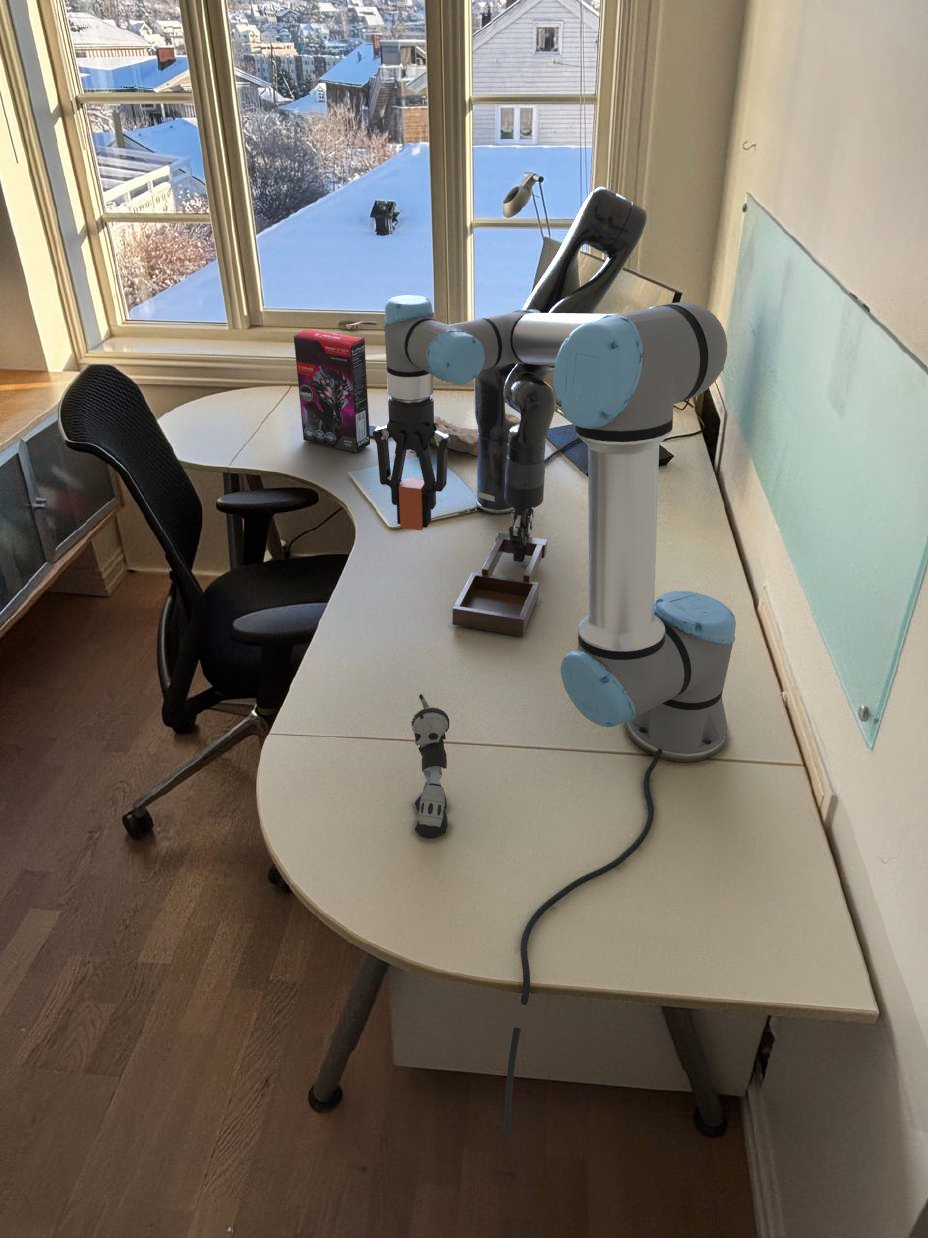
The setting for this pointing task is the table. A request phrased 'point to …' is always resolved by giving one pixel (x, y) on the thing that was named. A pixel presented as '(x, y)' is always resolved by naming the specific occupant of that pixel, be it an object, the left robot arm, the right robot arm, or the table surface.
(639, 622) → the right robot arm
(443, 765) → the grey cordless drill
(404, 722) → the table surface
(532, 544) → the walnut tray
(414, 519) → the terracotta block
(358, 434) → the graphics card box
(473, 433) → the stone
